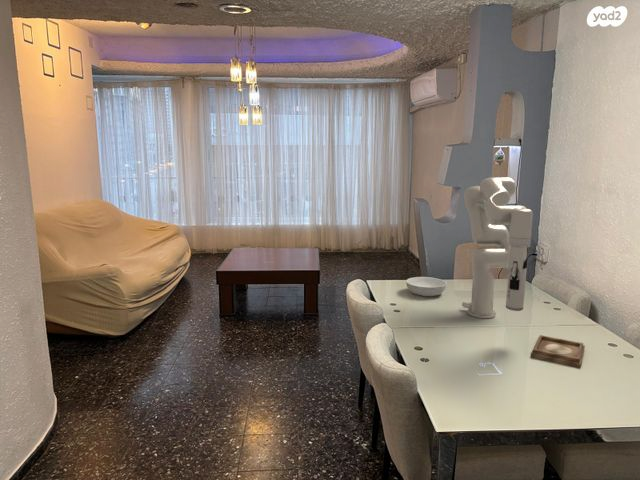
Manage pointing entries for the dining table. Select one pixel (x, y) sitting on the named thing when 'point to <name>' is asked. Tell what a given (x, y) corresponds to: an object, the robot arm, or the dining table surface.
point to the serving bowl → (426, 286)
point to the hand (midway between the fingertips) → (516, 286)
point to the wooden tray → (558, 351)
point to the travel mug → (516, 291)
